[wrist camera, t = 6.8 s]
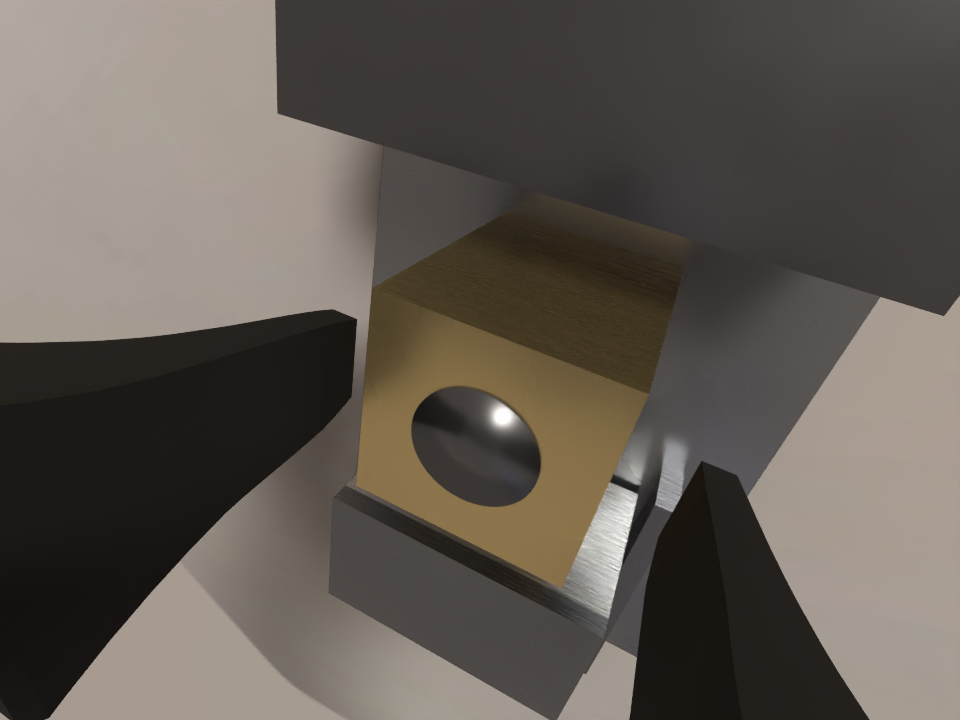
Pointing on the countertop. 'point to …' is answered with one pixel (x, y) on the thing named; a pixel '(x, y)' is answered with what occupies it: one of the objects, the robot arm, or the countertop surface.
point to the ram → (480, 594)
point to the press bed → (668, 181)
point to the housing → (511, 385)
